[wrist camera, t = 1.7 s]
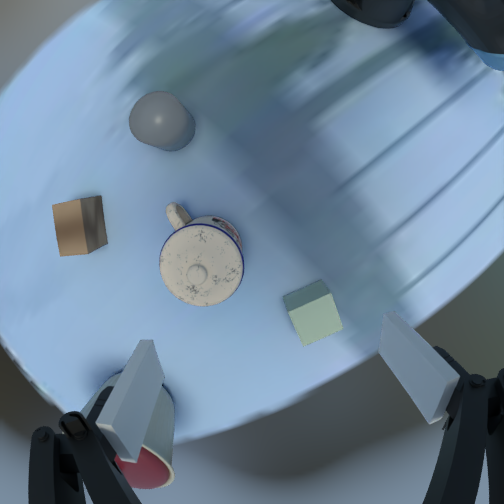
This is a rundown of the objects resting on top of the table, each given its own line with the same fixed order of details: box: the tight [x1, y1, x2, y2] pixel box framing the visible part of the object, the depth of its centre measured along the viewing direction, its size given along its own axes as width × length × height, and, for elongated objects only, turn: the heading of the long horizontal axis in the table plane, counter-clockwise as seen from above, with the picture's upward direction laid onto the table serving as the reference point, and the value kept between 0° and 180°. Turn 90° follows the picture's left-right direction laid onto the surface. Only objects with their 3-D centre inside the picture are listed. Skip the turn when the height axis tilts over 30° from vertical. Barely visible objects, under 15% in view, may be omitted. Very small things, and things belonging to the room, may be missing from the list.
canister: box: [62, 373, 175, 489], centre depth 34 cm, size 18×18×21 cm
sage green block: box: [283, 280, 343, 347], centre depth 38 cm, size 6×6×5 cm
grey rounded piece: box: [129, 91, 195, 151], centre depth 29 cm, size 6×6×8 cm
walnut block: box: [52, 196, 108, 256], centre depth 33 cm, size 7×5×6 cm
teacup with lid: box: [159, 202, 244, 306], centre depth 31 cm, size 12×9×12 cm
